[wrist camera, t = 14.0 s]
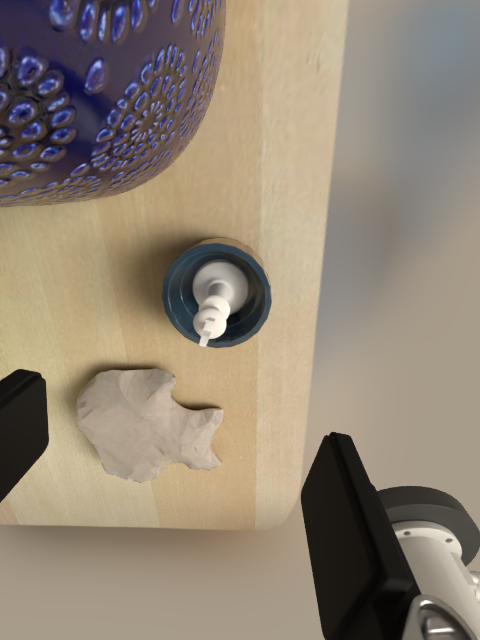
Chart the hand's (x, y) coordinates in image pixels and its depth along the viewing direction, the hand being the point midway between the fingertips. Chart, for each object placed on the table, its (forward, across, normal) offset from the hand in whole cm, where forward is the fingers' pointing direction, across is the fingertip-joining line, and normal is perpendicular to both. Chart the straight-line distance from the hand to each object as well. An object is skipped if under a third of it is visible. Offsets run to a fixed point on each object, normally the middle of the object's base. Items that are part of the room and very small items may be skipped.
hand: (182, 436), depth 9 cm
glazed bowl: (+17, +1, -1) cm, 17 cm away
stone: (+17, +5, +16) cm, 24 cm away
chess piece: (+17, +1, -1) cm, 17 cm away
